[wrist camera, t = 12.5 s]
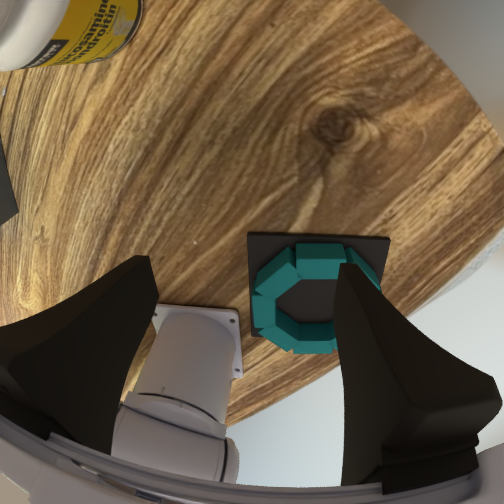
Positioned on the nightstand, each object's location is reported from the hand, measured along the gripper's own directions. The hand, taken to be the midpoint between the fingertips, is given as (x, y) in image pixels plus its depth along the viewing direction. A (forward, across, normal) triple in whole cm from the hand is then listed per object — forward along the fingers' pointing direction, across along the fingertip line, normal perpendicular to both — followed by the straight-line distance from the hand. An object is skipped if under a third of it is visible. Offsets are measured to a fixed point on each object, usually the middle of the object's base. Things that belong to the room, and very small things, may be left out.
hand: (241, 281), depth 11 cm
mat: (+9, -4, +8) cm, 13 cm away
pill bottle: (+10, +10, -13) cm, 19 cm away
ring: (+9, -4, +8) cm, 13 cm away
